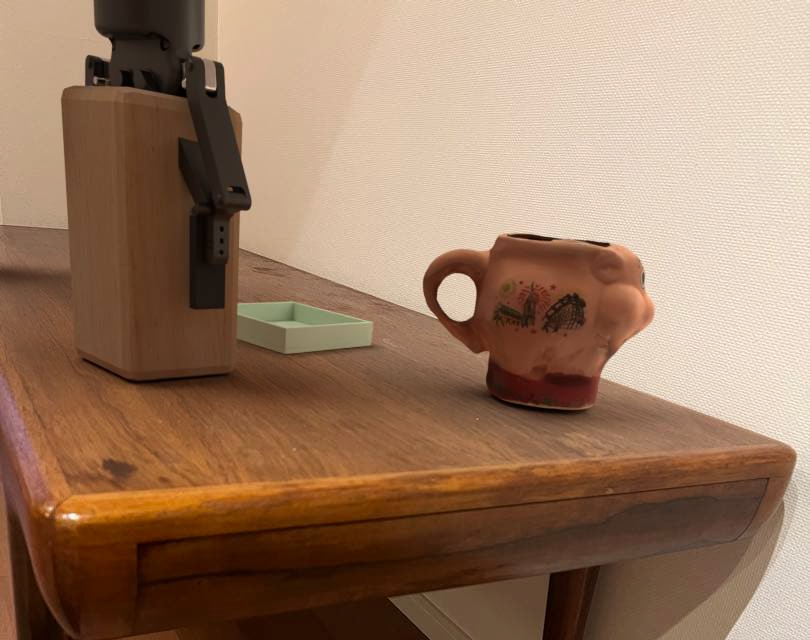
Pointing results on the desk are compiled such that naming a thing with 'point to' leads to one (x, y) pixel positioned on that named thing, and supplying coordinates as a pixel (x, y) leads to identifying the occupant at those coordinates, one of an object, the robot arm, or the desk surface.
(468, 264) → the terracotta mug
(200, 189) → the robot arm
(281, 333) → the shallow tray
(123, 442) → the desk surface
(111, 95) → the block
